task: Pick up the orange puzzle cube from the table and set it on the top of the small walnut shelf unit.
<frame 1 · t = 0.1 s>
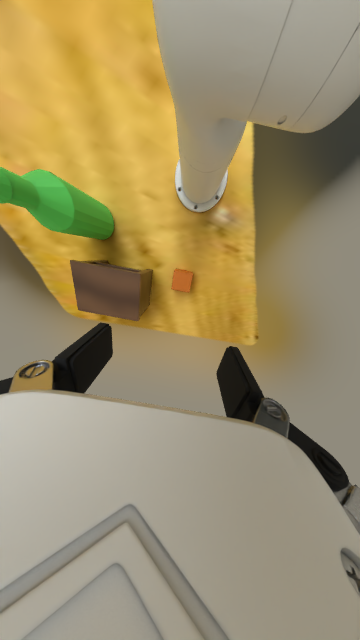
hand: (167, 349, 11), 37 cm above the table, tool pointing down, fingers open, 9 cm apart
shelf: (127, 283, 45), on the table
bottle: (100, 222, 38), on the table
cube: (182, 278, 44), on the table
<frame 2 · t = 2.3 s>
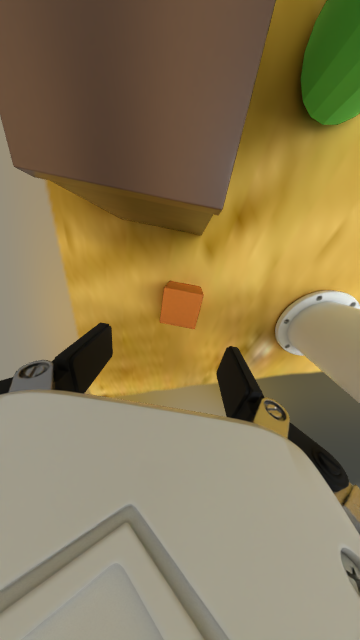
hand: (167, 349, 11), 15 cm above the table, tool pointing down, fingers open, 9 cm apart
shelf: (169, 148, 16), on the table
bottle: (342, 66, 13), on the table
cube: (182, 298, 24), on the table
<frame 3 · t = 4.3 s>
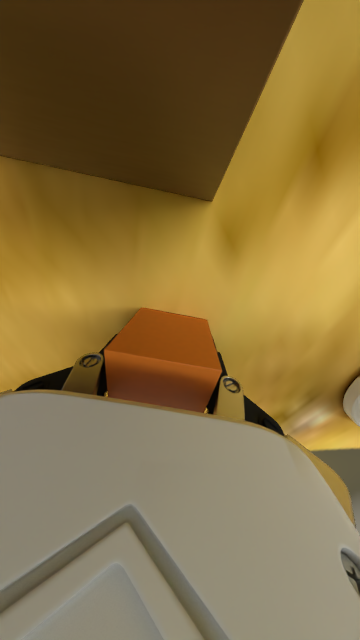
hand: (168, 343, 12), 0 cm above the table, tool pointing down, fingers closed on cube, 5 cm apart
cube: (169, 340, 12), on the table, touching gripper
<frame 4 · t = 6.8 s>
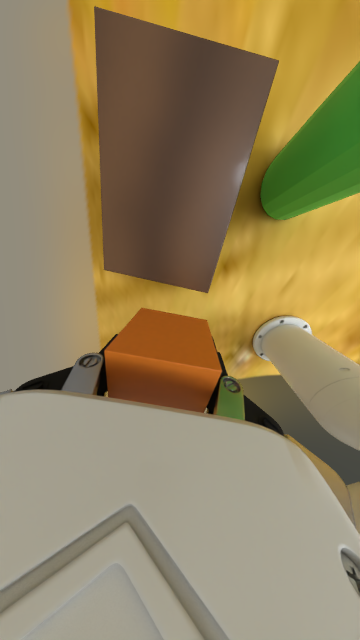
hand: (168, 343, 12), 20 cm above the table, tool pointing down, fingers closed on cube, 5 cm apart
shelf: (178, 223, 24), on the table
bottle: (286, 188, 21), on the table
cube: (169, 340, 12), point 19 cm above the table, touching gripper
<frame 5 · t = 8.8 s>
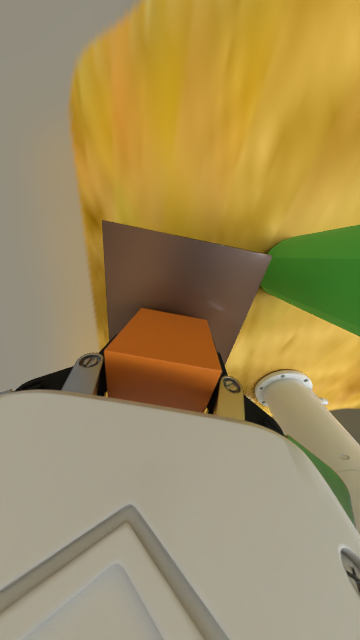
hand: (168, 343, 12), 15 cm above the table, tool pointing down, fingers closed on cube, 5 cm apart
shelf: (179, 297, 25), on the table
bottle: (283, 268, 22), on the table
cube: (169, 340, 12), point 14 cm above the table, touching gripper
when the fingers open (13 cm above the table, at t = 9.6 s): cube stays where it is, resting on shelf.
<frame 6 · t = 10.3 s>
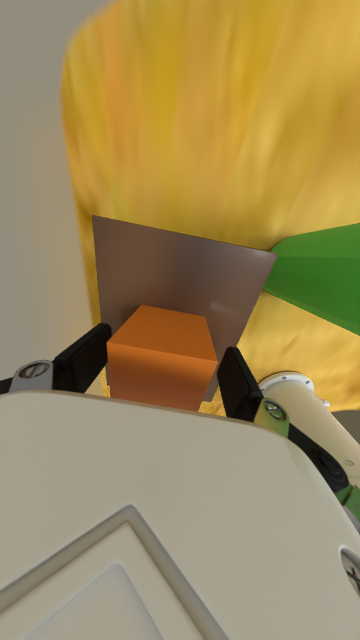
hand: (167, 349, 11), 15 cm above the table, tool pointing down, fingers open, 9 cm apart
shelf: (178, 297, 24), on the table
bottle: (285, 267, 21), on the table
cube: (168, 336, 12), point 13 cm above the table, touching shelf
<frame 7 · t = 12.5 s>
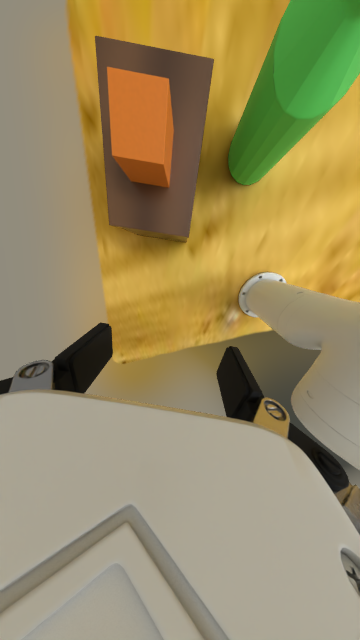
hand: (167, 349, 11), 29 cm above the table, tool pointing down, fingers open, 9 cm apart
shelf: (165, 196, 29), on the table
bottle: (249, 157, 26), on the table
cube: (151, 157, 18), point 13 cm above the table, touching shelf
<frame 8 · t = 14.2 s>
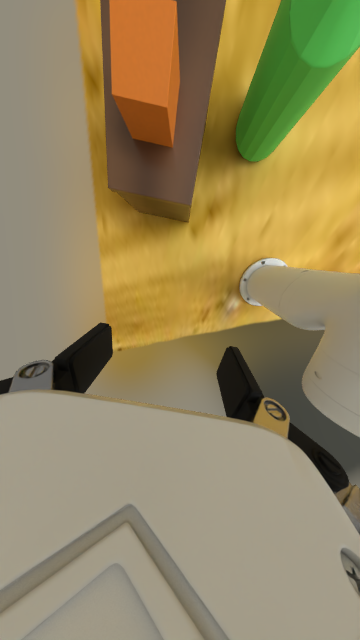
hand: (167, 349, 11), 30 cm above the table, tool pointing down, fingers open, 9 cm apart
shelf: (168, 171, 28), on the table
bottle: (257, 132, 26), on the table
cube: (154, 111, 17), point 13 cm above the table, touching shelf
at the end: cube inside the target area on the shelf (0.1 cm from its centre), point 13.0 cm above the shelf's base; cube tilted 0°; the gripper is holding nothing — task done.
